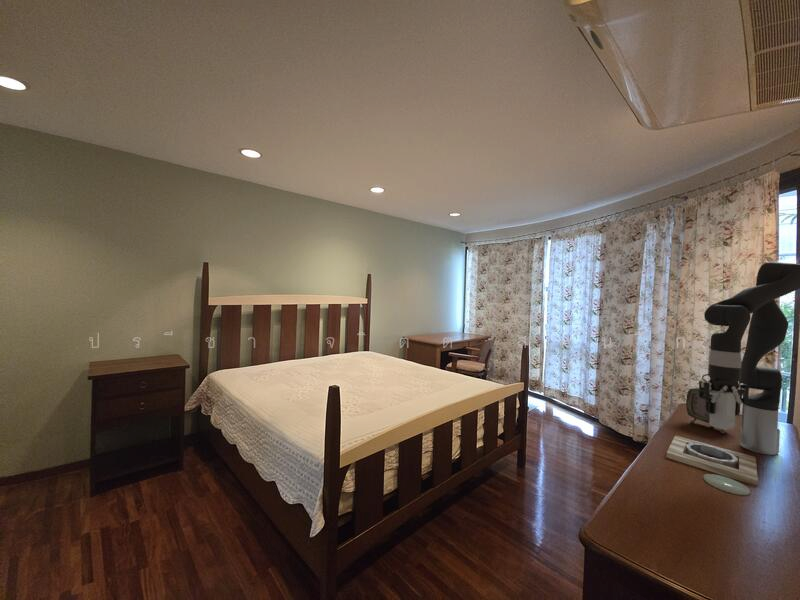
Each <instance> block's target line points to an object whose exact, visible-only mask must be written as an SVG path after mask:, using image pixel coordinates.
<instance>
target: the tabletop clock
mask: <svg viewBox="0 0 800 600" xmlns="http://www.w3.org/2000/svg"><path fill="white" fill-rule="evenodd" d="M706 376H708V373H706V374H702V376H701V379H702V381H704V382H709V381H710V380H706V379H704V377H706ZM685 401H686V402H685V407H686V408H685V409H686V413H687V415H688V416H689V417H691V418H693V420H690V421H689V424H691V423H693V424H692V425H695V422H696V421H697V420H699V421H701V422H704V423H707V424H709V421H710V413H708V412H707V411H706V409H705V408H706V401H705V400H704V399H701V398H699V387H696V388H689V390H688V391H687V395H686V400H685ZM712 427H713V426H711V427H710V428H712ZM713 428H714V427H713ZM719 432H720V433H721V434H722V433H723V434H722V435H724V434H726V430H723V429H719Z"/></svg>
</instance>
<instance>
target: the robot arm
mask: <svg viewBox="0 0 800 600" xmlns="http://www.w3.org/2000/svg"><path fill="white" fill-rule="evenodd" d="M798 290H800V263H794V262H793V263H792V262H791V263H790V262H779V261H777V262H776V261H766V262H764V263H763V264H761V265H760V267H759V269H758V271H757V275H756V280H755V286H751V287H748V288H745V289H743V290H741V291H739V292H738V293H736V294H735V295H733V296H732V297H730V298H727V299H723V300H721V301H718V302H715V303H713V304H711V305H710V306H708V307H707V308H706V309H705V311H704V314H703V315H704V320H705V321H706V323H708V324H710V325H713V326H719V327H720V326H721V327H728V328H727V329H726V330H725V331H723V332H716V333H715V332H714V333H713V334H711V336H710V349H709V356H708V370H707V374H708V375H707V376H708V377H709V380H708V381H709V382H705V381H704V380H699V381H698V388H699V398H701V399H704V400H705V401H706V408H705V409H706V411H707V412H708V413H711V414H715V403H714V402H715V401H716V400H717V398H720V393H721V392H732V393H734V396H735V399H736V409H735V416H740V413H741V416H742V417H741V431H740V432H741V433H740V446H741V447H742V448H744V449H746V450H749V451H751V452H753V453H758V454H763V455H767V456H776V455H779V454H780V453H779V452H780V437H781V435H780V434H781V430H780V429H779V428H778V422H779V408H780V407H779V405H780V402H781V393H782V386H783V375H782V373H781V371H780V370H779V369H778V368H776V367H770V366H761V365H758V364H759V363H760V360H762V358H763V357H764V356H766V355H767V354H769V353H770V352H772V351H773V350H774V349H777V347H778V346H780V345H781V344H782V343H783V342H784V341H785V340H786V335H787V333H788V327H789V321H788V319H787V317H786V315H785V314H784V312H783V311H782V310H781V308H780V306H779V305H778V304H777V301H776V299H778V298H781V297H783V296H786V295H788V294H791V293H793V292H795V291H798ZM748 325H749V327H748ZM747 327H748V334H747V338H746V346H745V350H744V354H743V357H742V354H741V351H742V340H743V337H744V334H745V332H746V330H747ZM750 389H752V390H760V391H762V392H761V393H758V394H752V395H749V394H750V393H749V391H750ZM712 390H714V391H718V392H717V393H711V391H712ZM711 395H713V397H712V398H711ZM741 405H742V412H741ZM778 453H779V454H778Z"/></svg>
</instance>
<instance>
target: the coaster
mask: <svg viewBox="0 0 800 600" xmlns="http://www.w3.org/2000/svg"><path fill="white" fill-rule="evenodd" d="M703 479H704V481H705V482H706V483H707V484H708V485H710V486H711V487H714V488H716V489H719V490H721V491H723V492H727V493H728V494H729V493H730V494H733V495H738V496H747V495H749V494H750V492H751V491H750V488H749V487H748V486H747V485H744V484H743V483H741V482H739V481H738V480H736V479H733V478H730V477H727V476H724V475H720V474H716V473H705V474H703Z"/></svg>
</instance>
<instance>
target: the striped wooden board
mask: <svg viewBox="0 0 800 600" xmlns="http://www.w3.org/2000/svg"><path fill="white" fill-rule="evenodd" d="M690 443H695V444H703V445H708V446H712V447H715V448H718V449H721V450H724V451H727V452H729V453H731V454H733V455H734V456H735V457H736V458H737V459H738V468H737V469H734V468H731V467H728V466H724V465H721V464H718V463H714V462H711V461H708V460H704V459H701V458H698V457H694V456H691V455H688V454H686V445H687V444H690ZM666 458H667V459H670V460H673V461H676V462H679V463H683V464H685V465H688V466H689V465H690V466H692V467H696V468H699V469H702V470H705V471H707V472H708V471H709V472H711V473H713V474H716V475H720V476H724V477H727V478H730V479H733V480H735V481H738V482H739V481H740V482H743V483H747V484H749V485H752V486H756V487H758V485H759V484H758V481H759V480H758V478H759V477H758V468H757V459H756V456H753V455H749V454H746V453H743V452H738V451H733V450H732V449H731V450H729V449H726V448H722V447H719V446H716V445H711V444H708V443H705V442H701V441H697V440H694V439H690V438H686V437H683V436H679V435H674V437H673V439H672V441H671V442H670V445H669V447H668V449H667V451H666Z"/></svg>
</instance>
